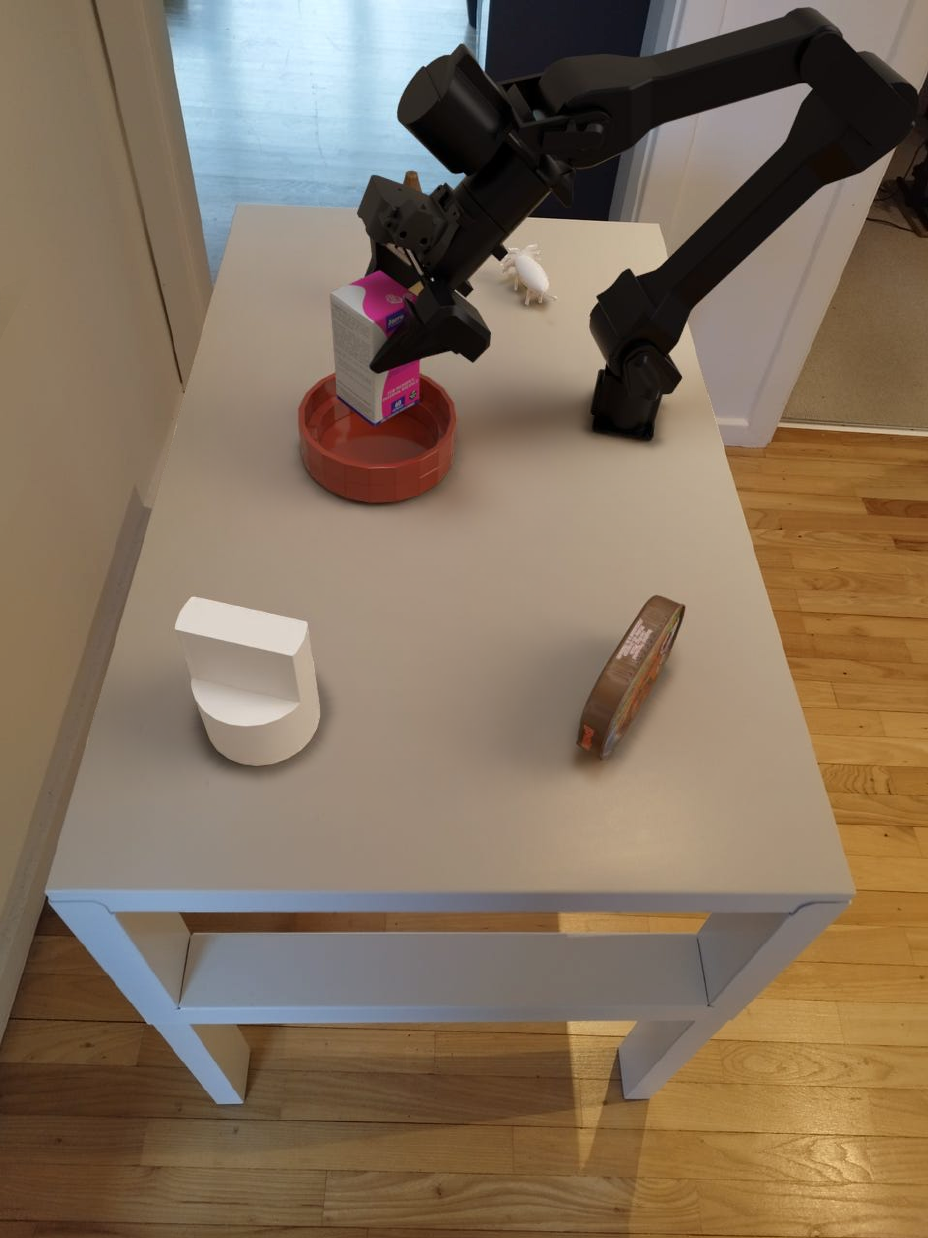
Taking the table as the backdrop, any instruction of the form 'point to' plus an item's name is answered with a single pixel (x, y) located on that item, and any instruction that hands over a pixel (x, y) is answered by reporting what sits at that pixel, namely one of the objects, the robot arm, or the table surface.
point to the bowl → (377, 444)
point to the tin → (629, 676)
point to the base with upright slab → (250, 679)
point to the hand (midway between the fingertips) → (361, 344)
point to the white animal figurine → (528, 270)
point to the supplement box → (371, 348)
